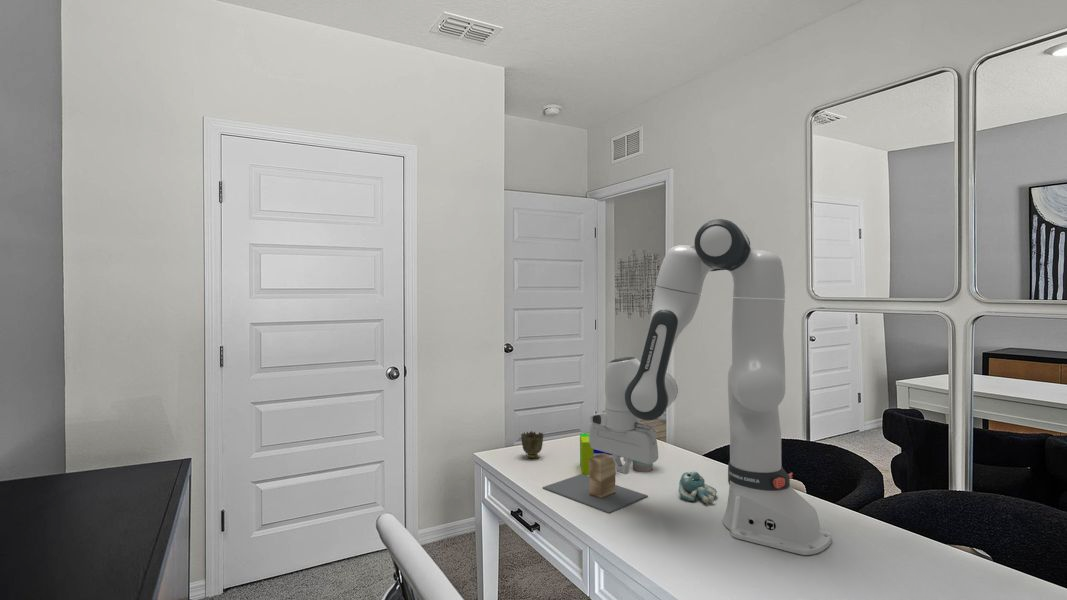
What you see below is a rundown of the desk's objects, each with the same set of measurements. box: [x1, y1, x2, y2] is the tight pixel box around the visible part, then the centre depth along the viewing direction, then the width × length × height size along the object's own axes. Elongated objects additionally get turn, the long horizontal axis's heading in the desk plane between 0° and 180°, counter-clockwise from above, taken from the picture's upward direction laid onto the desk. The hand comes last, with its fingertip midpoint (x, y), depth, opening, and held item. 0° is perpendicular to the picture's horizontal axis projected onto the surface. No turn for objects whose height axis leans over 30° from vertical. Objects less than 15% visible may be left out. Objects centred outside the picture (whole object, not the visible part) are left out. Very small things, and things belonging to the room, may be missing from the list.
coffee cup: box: [631, 429, 654, 473], centre depth 168 cm, size 8×8×12 cm
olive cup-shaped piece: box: [520, 430, 544, 460], centre depth 180 cm, size 8×7×8 cm
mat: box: [542, 473, 649, 515], centre depth 148 cm, size 24×16×1 cm, turn 42°
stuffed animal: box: [678, 471, 718, 504], centre depth 144 cm, size 11×7×12 cm
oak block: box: [588, 453, 616, 499], centre depth 146 cm, size 4×6×10 cm, turn 132°
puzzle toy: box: [579, 433, 617, 476], centre depth 167 cm, size 10×10×10 cm
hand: (622, 472), depth 141 cm, fingers closed
